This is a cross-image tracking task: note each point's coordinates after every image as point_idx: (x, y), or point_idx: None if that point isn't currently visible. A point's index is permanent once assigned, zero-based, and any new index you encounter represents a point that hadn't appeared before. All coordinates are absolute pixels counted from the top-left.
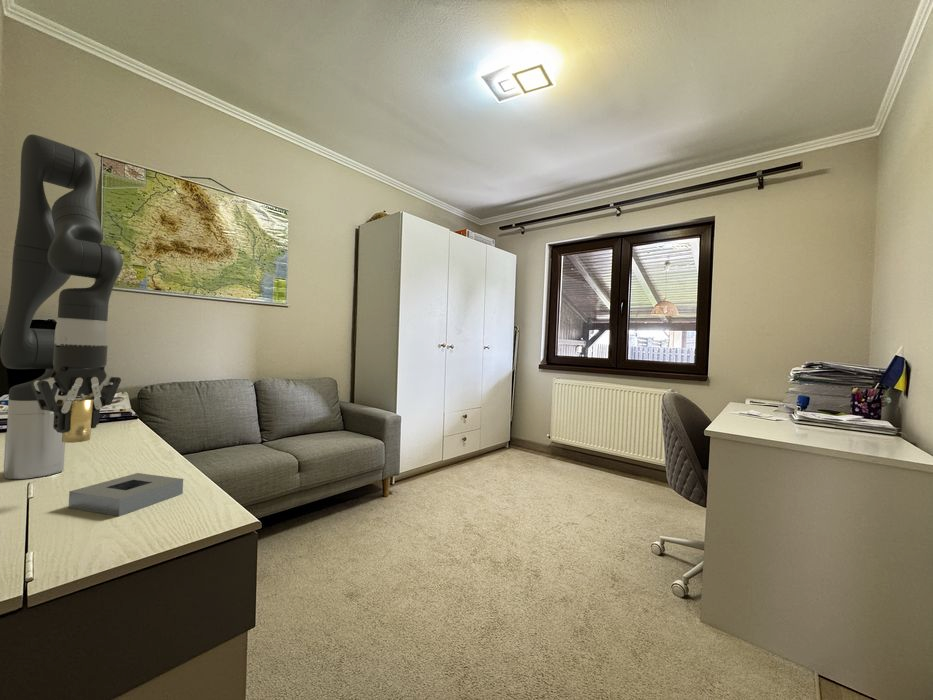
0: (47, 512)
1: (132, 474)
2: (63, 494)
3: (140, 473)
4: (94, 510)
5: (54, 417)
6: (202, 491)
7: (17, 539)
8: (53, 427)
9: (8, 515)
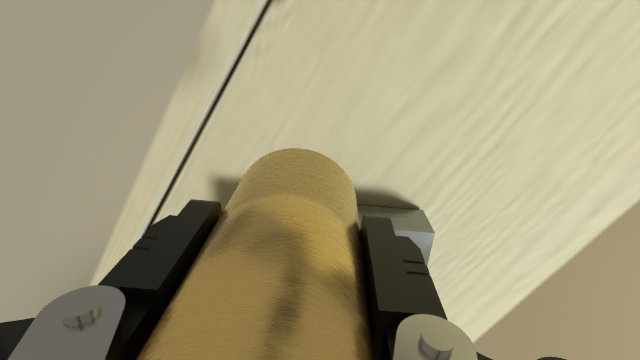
0: (220, 170)
1: (415, 233)
2: (332, 59)
3: (431, 244)
4: None
5: (111, 277)
6: None
7: (116, 258)
8: (155, 224)
9: (172, 101)
